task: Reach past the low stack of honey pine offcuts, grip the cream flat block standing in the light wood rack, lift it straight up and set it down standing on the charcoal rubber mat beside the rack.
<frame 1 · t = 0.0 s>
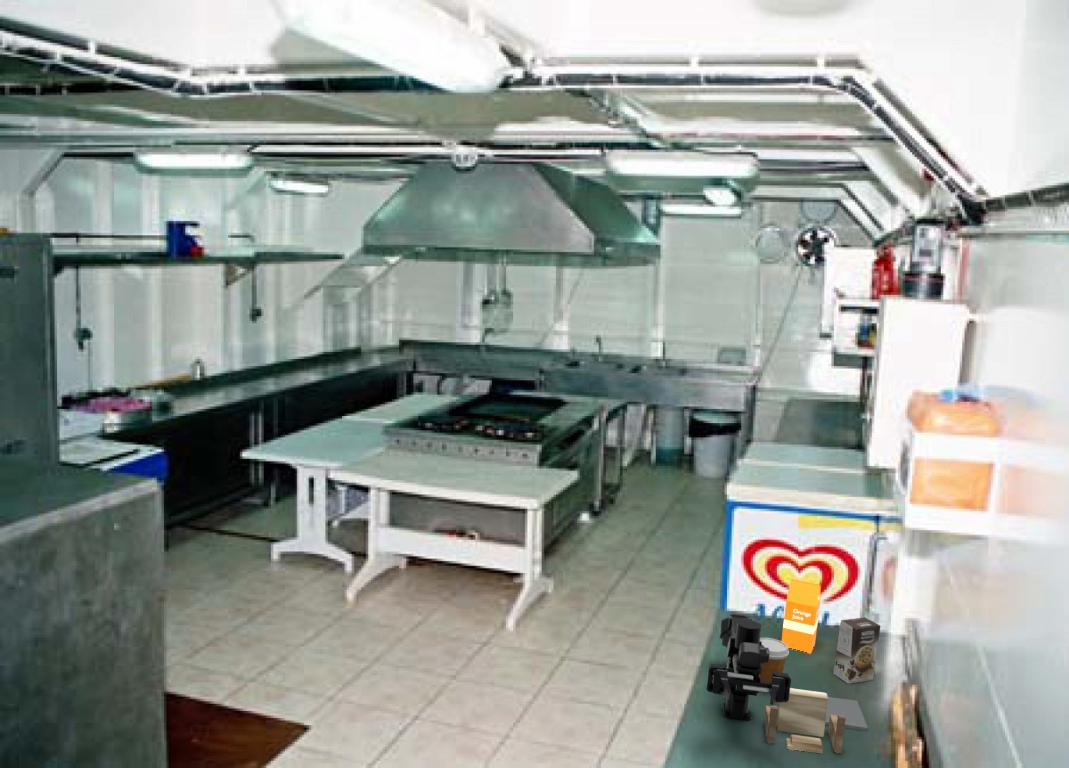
hand: (751, 699, 207), 17 cm above the countertop, tool horizontal, fingers open, 9 cm apart
orange juice: (797, 646, 277), on the countertop
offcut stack: (803, 749, 220), on the countertop
disposable coffee cup: (766, 687, 249), on the countertop
cookie box: (853, 677, 259), on the countertop
cream flat block: (799, 730, 228), on the countertop
rubber mat: (829, 712, 238), on the countertop
light wood rack: (801, 737, 224), on the countertop
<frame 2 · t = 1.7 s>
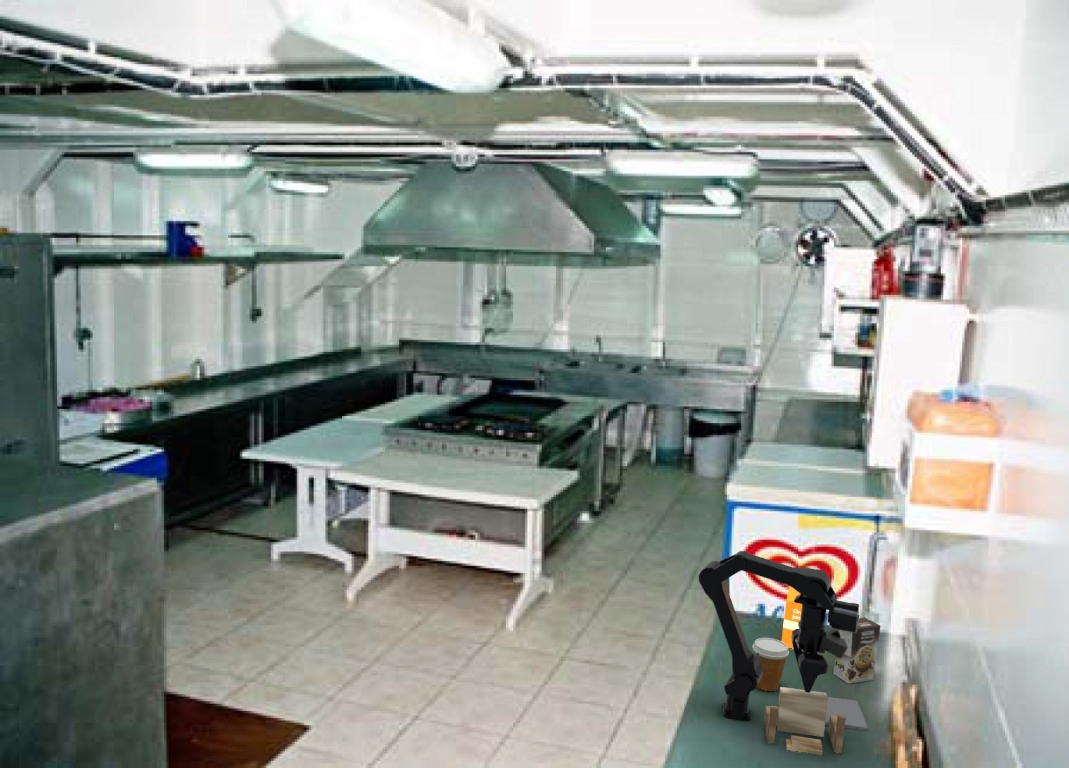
hand: (804, 683, 226), 12 cm above the countertop, tool pointing down, fingers open, 9 cm apart
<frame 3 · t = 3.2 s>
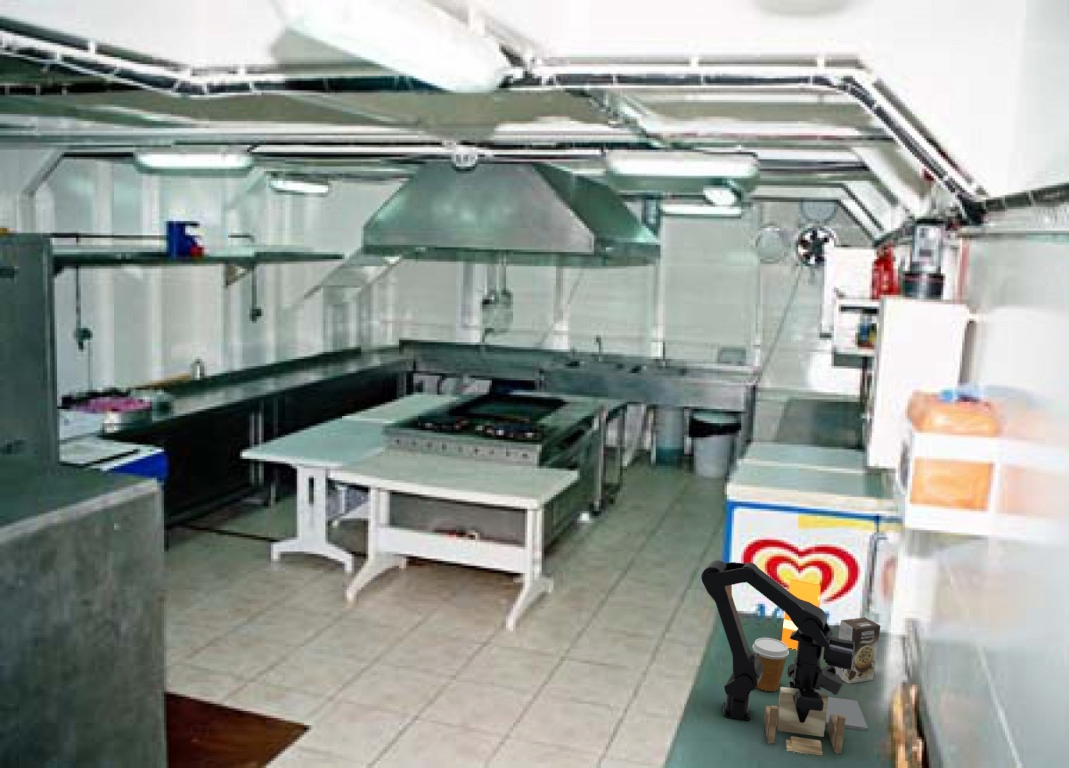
hand: (800, 719, 227), 3 cm above the countertop, tool pointing down, fingers closed on cream flat block, 3 cm apart
cream flat block: (799, 730, 228), on the countertop, touching gripper
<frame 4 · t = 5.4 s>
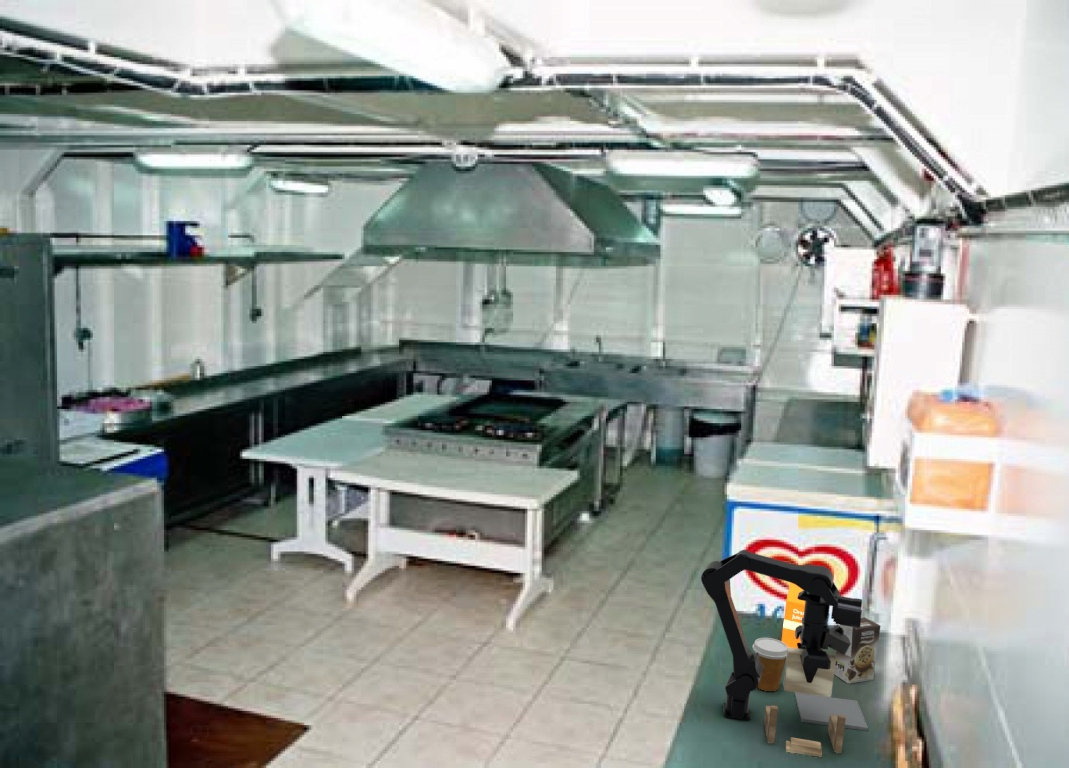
hand: (808, 679, 226), 13 cm above the countertop, tool pointing down, fingers closed on cream flat block, 3 cm apart
cream flat block: (806, 691, 227), point 10 cm above the countertop, touching gripper
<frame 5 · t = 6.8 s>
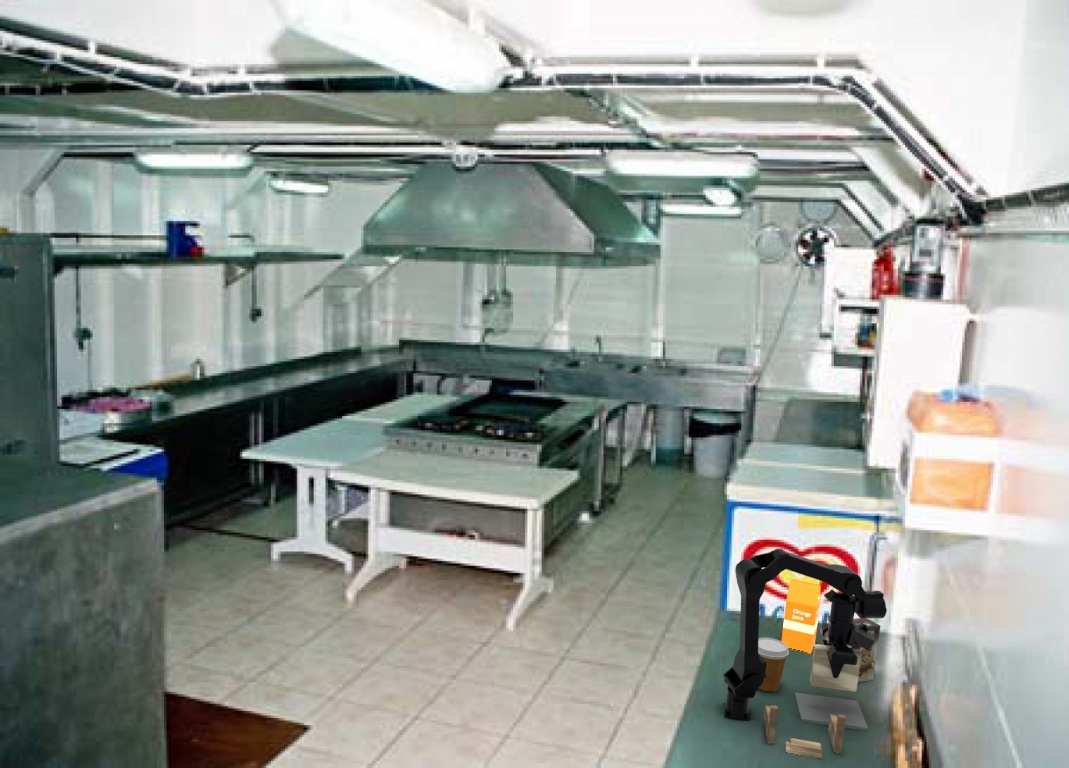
hand: (834, 674, 236), 10 cm above the countertop, tool pointing down, fingers closed on cream flat block, 3 cm apart
cream flat block: (832, 685, 236), point 7 cm above the countertop, touching gripper
when the fingers open (5 cm above the countertop, at t = 7.8 s): cream flat block drops 2 cm, resting on rubber mat.
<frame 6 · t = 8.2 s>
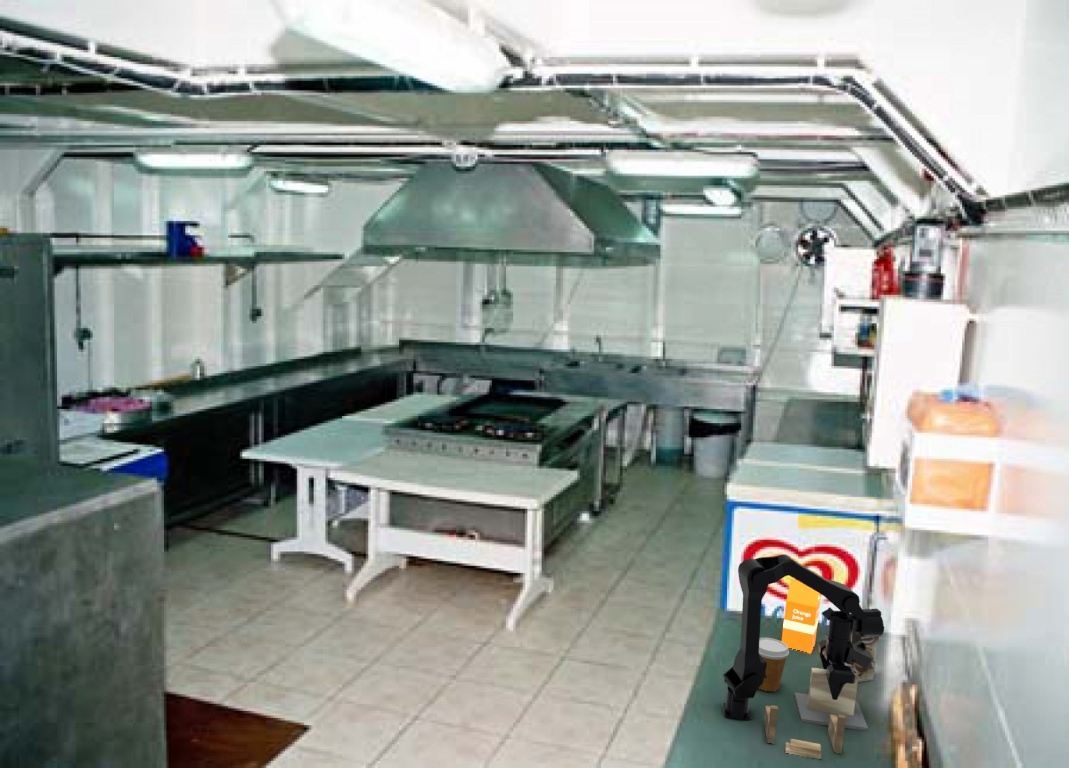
hand: (832, 692, 237), 5 cm above the countertop, tool pointing down, fingers open, 7 cm apart
cream flat block: (830, 709, 237), point 1 cm above the countertop, touching rubber mat
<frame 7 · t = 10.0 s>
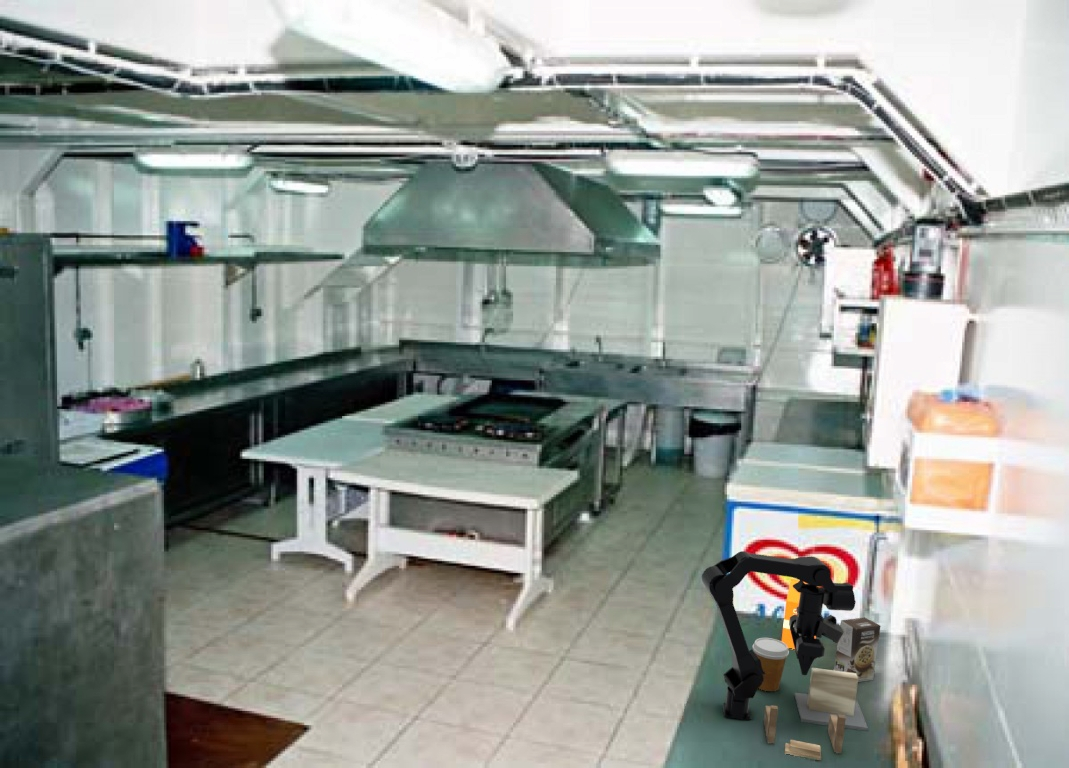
hand: (801, 666, 234), 13 cm above the countertop, tool pointing down, fingers open, 9 cm apart
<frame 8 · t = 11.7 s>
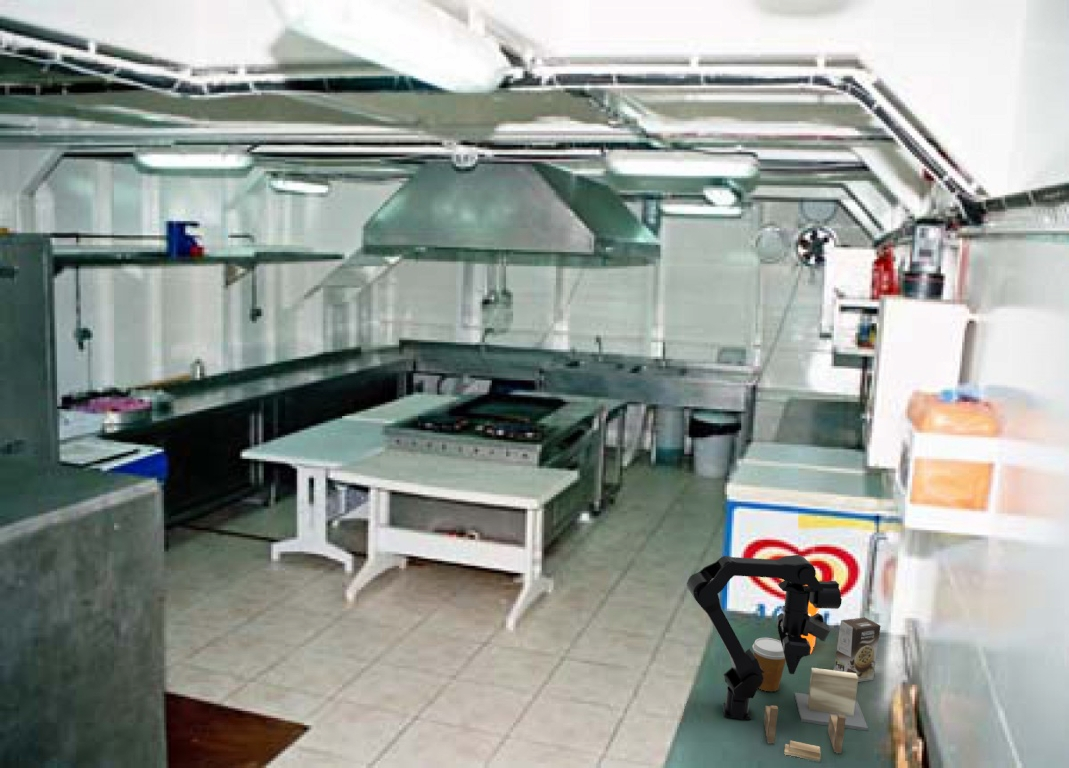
hand: (789, 665, 233), 13 cm above the countertop, tool pointing down, fingers open, 9 cm apart
at the end: cream flat block inside the target area on the rubber mat (0.0 cm from its centre), point 0.8 cm above the rubber mat's base; cream flat block tilted 0°; the gripper is holding nothing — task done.
